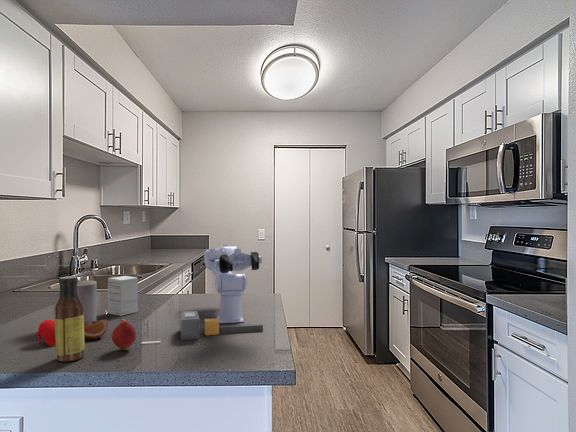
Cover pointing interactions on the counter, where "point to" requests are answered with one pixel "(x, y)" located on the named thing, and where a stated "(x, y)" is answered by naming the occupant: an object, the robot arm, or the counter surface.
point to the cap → (47, 332)
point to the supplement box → (122, 295)
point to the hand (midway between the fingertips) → (244, 266)
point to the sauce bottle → (69, 322)
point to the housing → (189, 325)
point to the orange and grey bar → (228, 327)
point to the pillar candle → (88, 298)
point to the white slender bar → (151, 342)
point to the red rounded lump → (124, 335)
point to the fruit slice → (95, 329)
